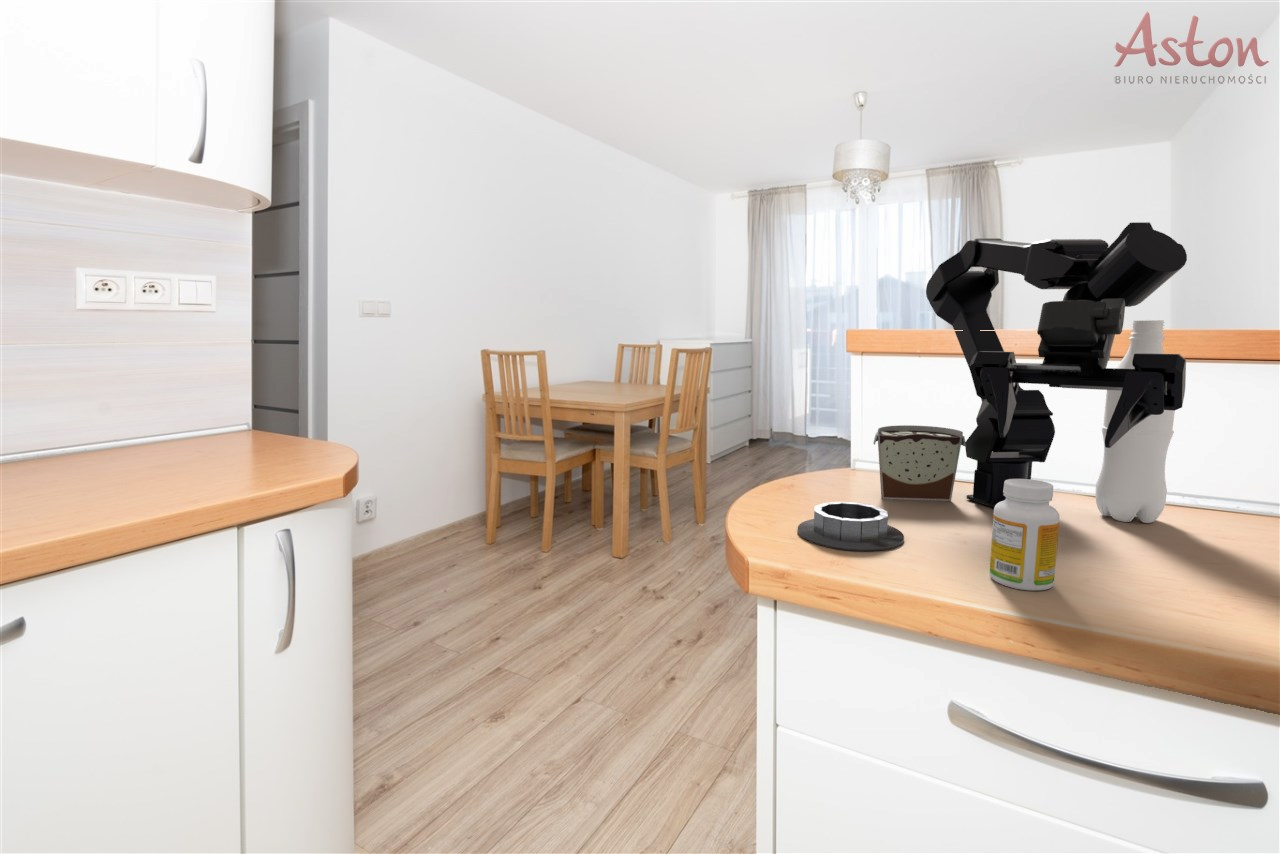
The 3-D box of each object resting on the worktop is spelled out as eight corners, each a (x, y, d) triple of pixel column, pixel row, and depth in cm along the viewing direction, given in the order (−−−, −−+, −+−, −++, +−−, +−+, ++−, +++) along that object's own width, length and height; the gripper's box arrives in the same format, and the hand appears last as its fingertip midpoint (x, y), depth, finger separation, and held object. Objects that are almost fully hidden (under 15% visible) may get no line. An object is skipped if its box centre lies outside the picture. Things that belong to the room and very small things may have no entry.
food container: (948, 490, 97) (952, 425, 95) (962, 501, 91) (966, 431, 89) (863, 488, 99) (866, 424, 97) (871, 498, 93) (874, 430, 91)
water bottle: (1167, 529, 77) (1192, 319, 74) (1095, 520, 81) (1115, 320, 77) (1158, 515, 83) (1180, 320, 80) (1091, 507, 87) (1109, 321, 84)
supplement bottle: (1045, 574, 63) (1053, 478, 62) (1060, 595, 58) (1070, 491, 57) (984, 568, 65) (991, 474, 64) (994, 588, 60) (1002, 487, 59)
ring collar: (865, 516, 83) (866, 495, 83) (926, 546, 72) (928, 521, 72) (780, 524, 81) (781, 501, 80) (830, 555, 69) (831, 529, 69)
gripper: (980, 279, 73) (939, 382, 67) (1196, 267, 60) (1170, 393, 54) (996, 348, 80) (960, 447, 73) (1193, 350, 67) (1170, 470, 60)
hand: (1051, 439), depth 65 cm, fingers open, 9 cm apart
